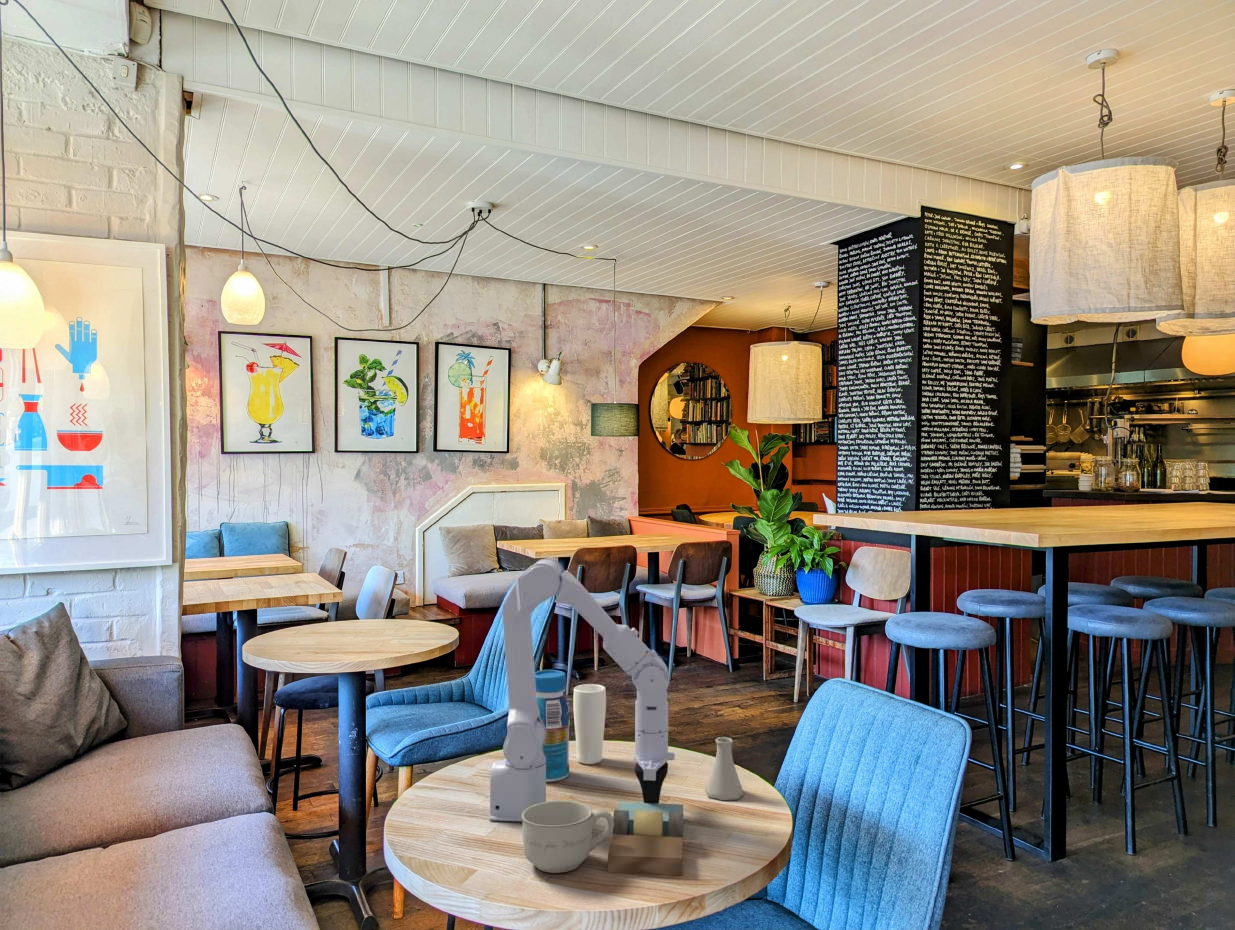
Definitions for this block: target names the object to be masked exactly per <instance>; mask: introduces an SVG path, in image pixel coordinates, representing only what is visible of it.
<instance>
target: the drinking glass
mask: <svg viewBox="0 0 1235 930" xmlns="http://www.w3.org/2000/svg"><path fill="white" fill-rule="evenodd" d="M606 689H607V688H606V687H605V686H604V685H601V684H595V683H586V684H579V685H576V686H575V687H573V697H572V699H573V704H572V707H573V708H572V709H573V719H574V720H573V721H574V734H575V745H576V747H575V748H576V749H575V750H576V760H577V762H578V763H580V764H583V765H595V764H598V763H600V762H601V761H602V760H603V748H604V735H605V734H604V733H605V725H606V724H605V721H606V714H607V713H606V708H607V693H606V692H607V691H606Z"/></svg>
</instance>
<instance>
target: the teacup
mask: <svg viewBox="0 0 1235 930" xmlns="http://www.w3.org/2000/svg"><path fill="white" fill-rule="evenodd" d="M547 801H548V802H543V803H539V804H535V805H533V806H530V807H528V808H527V809H526V810H525V811H524V812H523V813H522V820H523V822H522V844H523V847H522V848H523V853H524V855H525V857H526V859H527V860H528V862H529V863H530V864H532V865H533V866H535V867H536V868H537V869H538V870H540V871H542V872H545V873H549V874H550V873H551V874H561V873H566V872H571V871H574V870H576V869H577V868H578V867H579V866H580V865H581V864H582V863H583V862H584V861H585V860H586V859H587V858H588V856H589V855H590V852H591V851H593V850H594V849H595V848H596V847H597V845H598V844H600V843H601V842H603V841H604V840H606V839H607V838H608V837H609V836H610V835H611V833H613V827H614V820H613V815H612V814H611V812H609V811H608V810H605V809H599V810H596V811H595V812H593V810H592V808H591V807H590V806H588V805H587V804H585V803H582V802H578V801H575V800H572V801H571V800H547ZM600 818H604V819H606V822H607V825H606V827H605V829H604V830H603V831H602V832H600V833H599V834H598V835H596V836H594V837H593V829H594V828H595V825H596V822H597V821H598V820H599V819H600Z"/></svg>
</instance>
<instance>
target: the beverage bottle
mask: <svg viewBox="0 0 1235 930" xmlns="http://www.w3.org/2000/svg"><path fill="white" fill-rule="evenodd" d="M535 683H536V697H537V704H538V707H539V710H540V718H541V720H542V722H543V724H544V725H545V728H546V733H547V734H546V740H545V742H544V743H543V745H542V747H541V750H542V752H543V754H544V755H545V757H546V783H552V782H553V783H555V782H559V781H562V780H564V779H566V778H567V777H568V776H569V775H570V763H569V762H570V755H569V753H570V749H569V747H570V744H569V743H570V726H571V718H570V716H569V712H570V704H569V701H568V698H567V696H566V695H565V694H564V692H565V691H566V688H567V676H566V673H565V672H564V671H561V670H557V669H544V670H537V671H535Z"/></svg>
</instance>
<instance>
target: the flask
mask: <svg viewBox="0 0 1235 930" xmlns="http://www.w3.org/2000/svg"><path fill="white" fill-rule="evenodd" d="M733 742H734V740H733V739H732V738H731V737H726V736H723V737H717V738H715V743H716V753H715V760H714V763H713V766H712V769H711V772H710V775H709V778H708V781H707V784H706V786H705V790H704V792H705V794H706V796H707V797H708V798H712V799H717V800H722V801H726V800H727V801H729V800H730V801H732V800H739V799H740V798H741V797H743V795H745V792H744V790H743V787H742V784H741V780H740V778H739V775H738V772H737V769H736V767H735V763H734V759H733V758H734V757H733V752H732V744H733Z"/></svg>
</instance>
